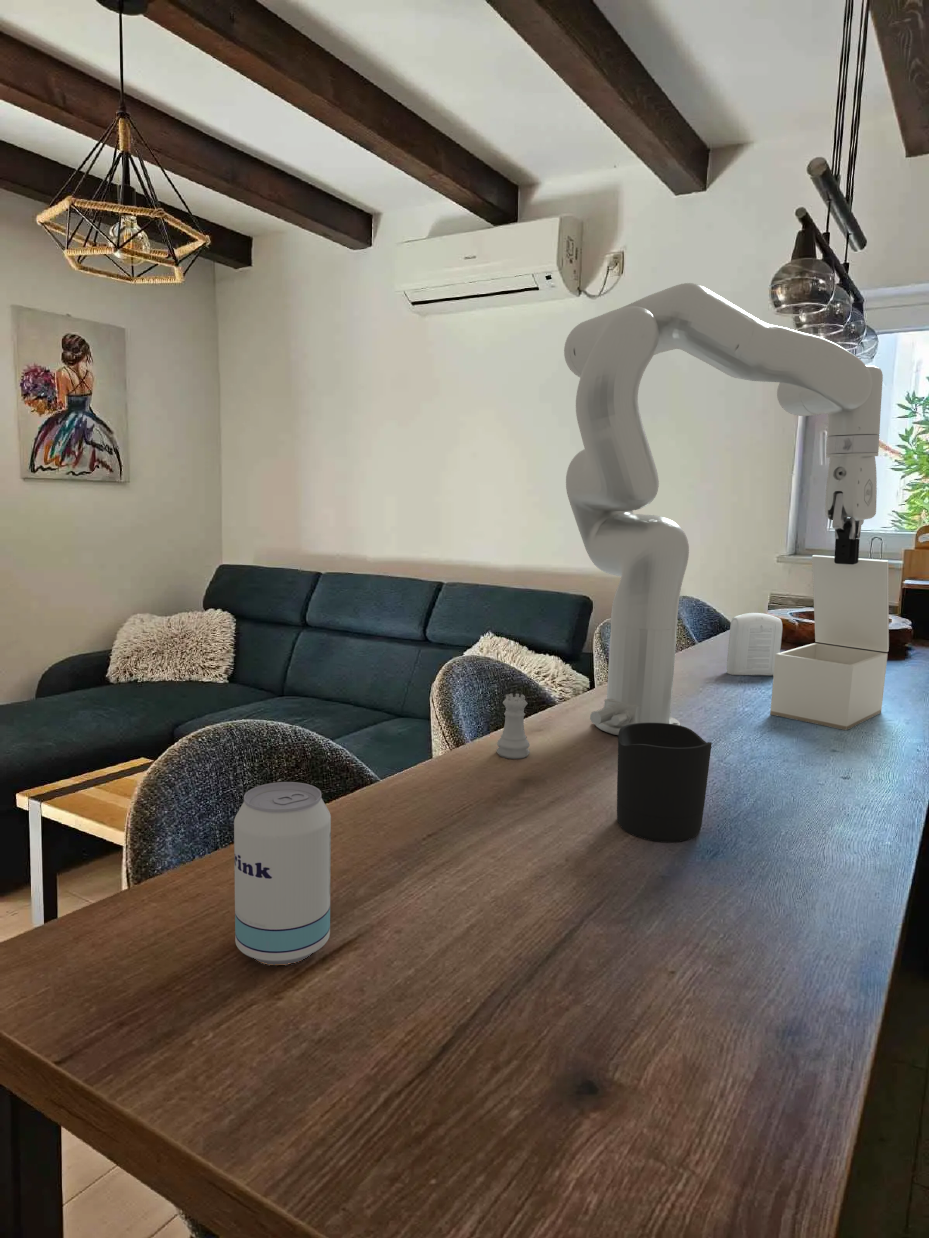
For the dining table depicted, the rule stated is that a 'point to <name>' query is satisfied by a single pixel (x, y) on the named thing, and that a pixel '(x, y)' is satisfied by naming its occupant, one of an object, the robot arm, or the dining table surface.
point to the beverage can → (282, 872)
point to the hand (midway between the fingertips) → (846, 563)
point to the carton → (828, 685)
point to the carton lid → (851, 603)
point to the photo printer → (753, 644)
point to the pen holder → (661, 781)
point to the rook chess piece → (513, 729)
